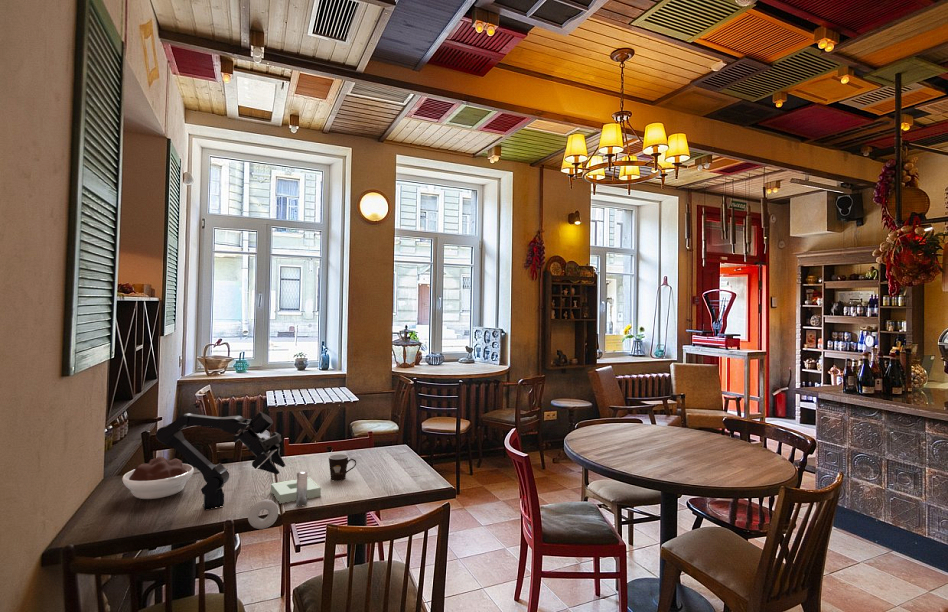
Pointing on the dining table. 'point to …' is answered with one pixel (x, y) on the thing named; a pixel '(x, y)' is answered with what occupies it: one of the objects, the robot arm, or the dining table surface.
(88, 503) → the dining table surface
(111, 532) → the dining table surface
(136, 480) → the bowl of chocolate pudding
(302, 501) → the steel pin
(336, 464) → the coffee mug
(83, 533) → the dining table surface
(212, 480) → the robot arm
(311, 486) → the socket block
